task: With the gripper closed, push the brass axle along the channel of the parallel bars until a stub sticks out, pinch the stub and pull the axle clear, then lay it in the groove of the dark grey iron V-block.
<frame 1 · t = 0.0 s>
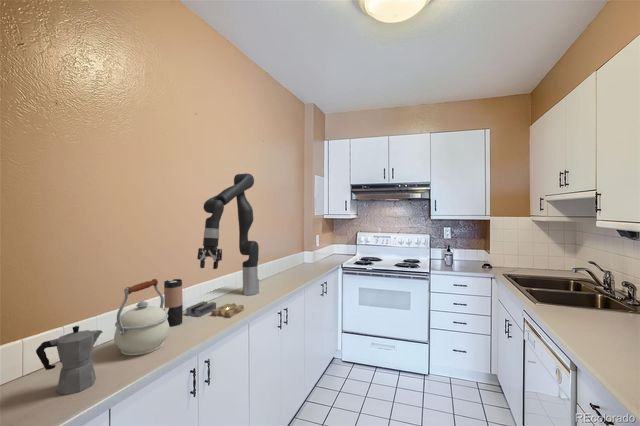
hand: (208, 268, 157), 22 cm above the worktop, tool pointing down, fingers open, 8 cm apart
kettle: (146, 346, 118), on the worktop
v block: (201, 312, 156), on the worktop
parallel bars: (228, 312, 154), on the worktop
axle: (228, 313, 154), on the worktop
coffeepot: (72, 388, 90), on the worktop
travel mug: (173, 324, 140), on the worktop
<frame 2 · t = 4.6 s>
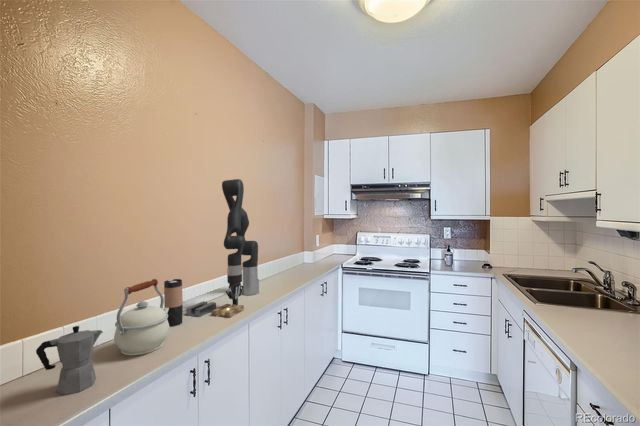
hand: (235, 305, 160), 2 cm above the worktop, tool pointing down, fingers closed
axle: (227, 313, 154), on the worktop, tilted 21°, touching gripper
everything else where it was.
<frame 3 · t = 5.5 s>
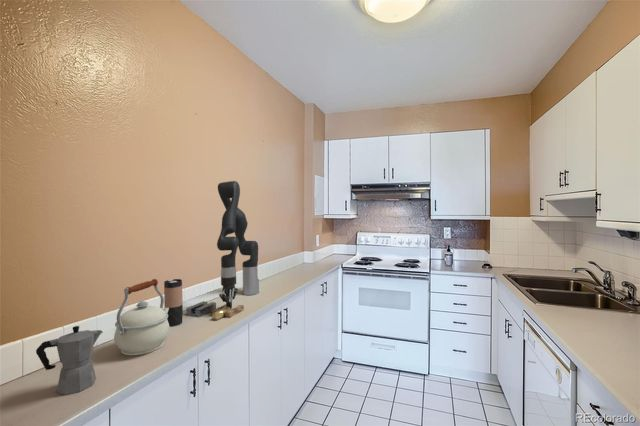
hand: (229, 309, 155), 2 cm above the worktop, tool pointing down, fingers closed
axle: (220, 316, 149), on the worktop, tilted 21°, touching gripper
everything else where it was.
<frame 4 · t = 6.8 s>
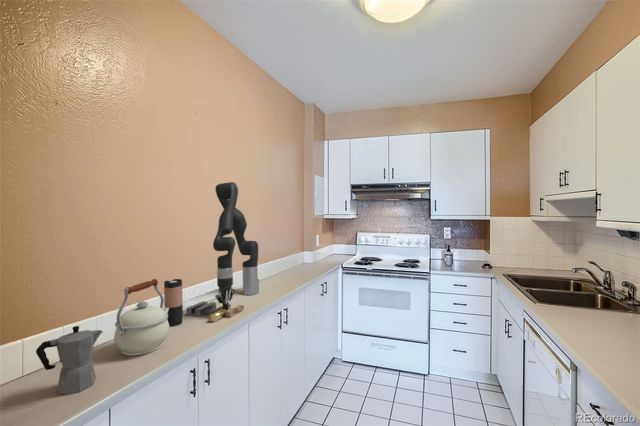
hand: (225, 310, 153), 2 cm above the worktop, tool pointing down, fingers closed
axle: (216, 318, 146), on the worktop, tilted 21°
everything else where it was.
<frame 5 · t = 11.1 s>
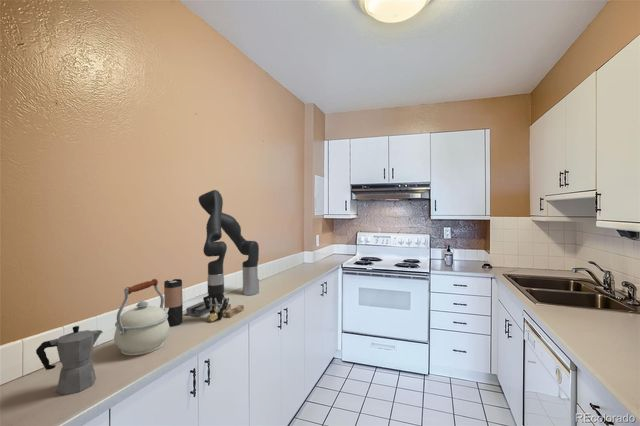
hand: (216, 318, 146), 0 cm above the worktop, tool pointing down, fingers closed on axle, 3 cm apart
axle: (216, 318, 146), on the worktop, touching gripper
everything else where it was.
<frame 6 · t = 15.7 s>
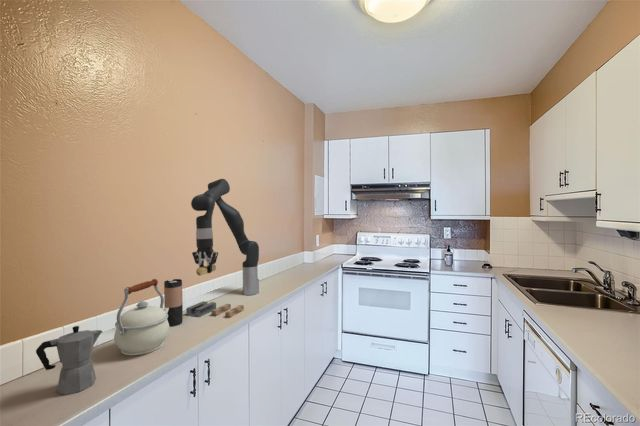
hand: (205, 272, 146), 22 cm above the worktop, tool pointing down, fingers closed on axle, 3 cm apart
axle: (206, 273, 147), point 22 cm above the worktop, touching gripper
everything else where it was.
when the fingers open (5 cm above the worktop, at t = 20.3 s): axle drops 1 cm, resting on v block.
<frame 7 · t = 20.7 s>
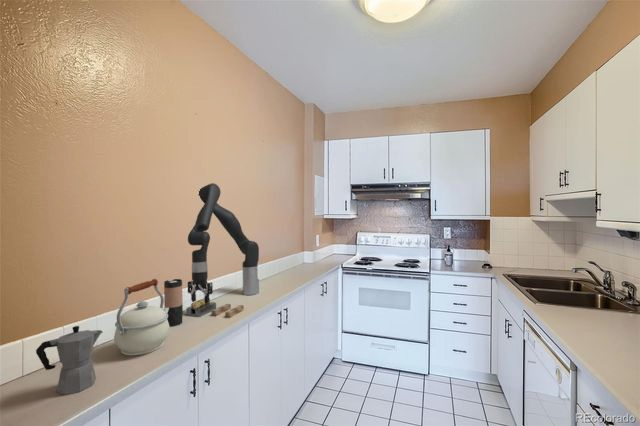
hand: (200, 302, 155), 5 cm above the worktop, tool pointing down, fingers open, 7 cm apart
axle: (200, 306, 156), point 3 cm above the worktop, tilted 5°, touching v block
everything else where it was.
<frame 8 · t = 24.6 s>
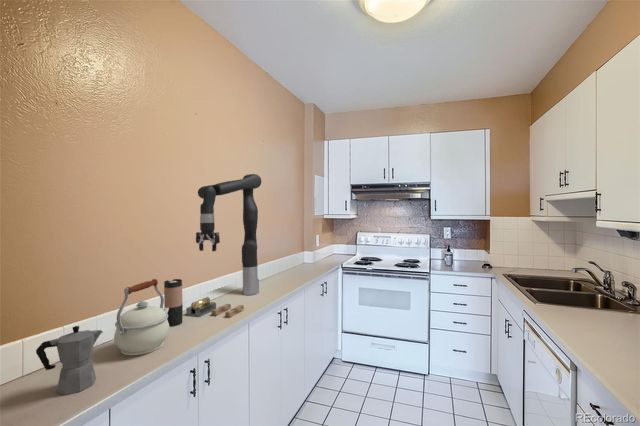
hand: (207, 251, 168), 30 cm above the worktop, tool pointing down, fingers open, 8 cm apart
nothing on the worktop moved.
at the end: axle 0.5 cm off-centre on the v block, point 2.9 cm above the v block's base; axle touching v block; the gripper is holding nothing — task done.
